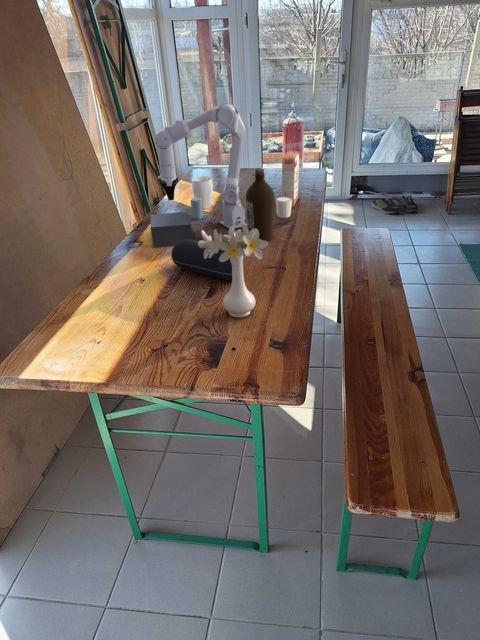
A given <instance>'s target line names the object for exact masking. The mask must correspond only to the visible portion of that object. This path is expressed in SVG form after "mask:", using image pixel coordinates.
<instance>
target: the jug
mask: <svg viewBox="0 0 480 640" xmlns="http://www.w3.org/2000/svg"><path fill="white" fill-rule="evenodd" d="M190 208H191V218H192V220H196V221H197V220H202V219H203V218H204V216H203V209H202V202H201V198H198V197H195V198H194V197H192V198H190Z"/></svg>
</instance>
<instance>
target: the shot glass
mask: <svg viewBox="0 0 480 640" xmlns="http://www.w3.org/2000/svg"><path fill="white" fill-rule="evenodd" d="M291 205H292V199H291V198H289V197H282V196H280V197H275V208H276V217H278V218H281V219H287V218H290V217H291V213H292V207H291Z"/></svg>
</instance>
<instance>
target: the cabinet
mask: <svg viewBox="0 0 480 640" xmlns="http://www.w3.org/2000/svg"><path fill="white" fill-rule="evenodd" d="M150 233H151V240H152V248H161V247H162V248H163V247H164V248H165V247H173V246H174V245H175V244H176V243H177V242H179V241H181V240H186V239H190V240H194V238H193V228H192V220H191V215H190V211H182V212H180V211H179V212H169V213H168V212H167V213H153V214H150Z"/></svg>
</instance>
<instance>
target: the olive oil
mask: <svg viewBox="0 0 480 640" xmlns="http://www.w3.org/2000/svg"><path fill="white" fill-rule="evenodd" d="M254 171H255V173H254V181H253V182H252V183H251V185H250V186H249V187H248V189H247V190H246V193H245V208H246V220H247V228H248V230H249V232H250V231H251V230H252V229H254V228H256V229H257V230H258V231H259V239H261V240H264V241H267V242H268V241H270V240H272V239H273V238H274V221H275V219H274V218H275V203H276V196H275V192H274V189H273V187H271V185H269V184H268V182H267V181H266V178H265V177H266V176H265V175H266V174H265V169H264V168H256V169H255V170H254ZM248 234H249V233H248Z"/></svg>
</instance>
